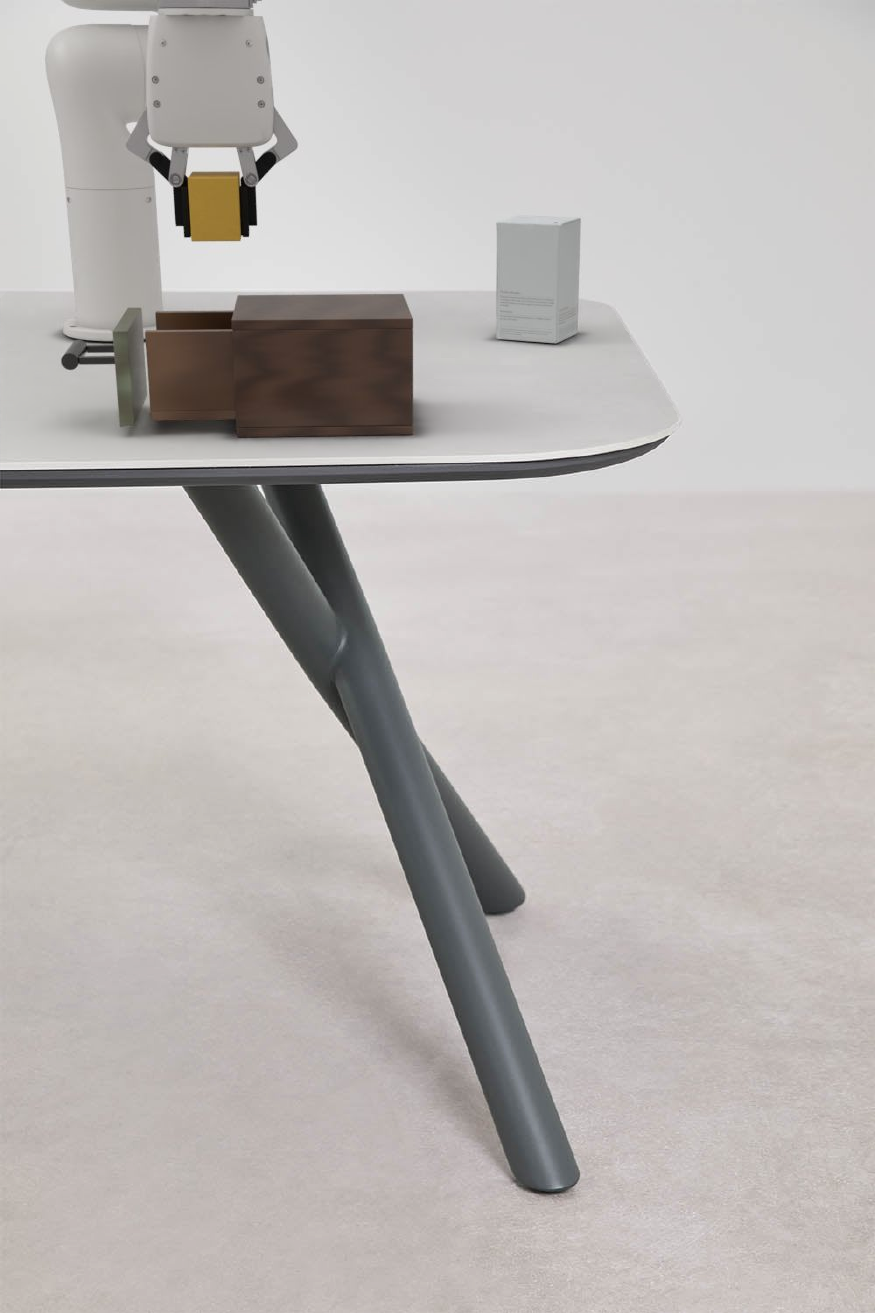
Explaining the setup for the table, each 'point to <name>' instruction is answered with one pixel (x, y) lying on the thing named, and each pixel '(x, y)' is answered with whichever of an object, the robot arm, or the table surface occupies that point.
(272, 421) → the cabinet
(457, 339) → the table surface
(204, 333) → the drawer
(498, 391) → the table surface
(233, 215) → the yellow box
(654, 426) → the table surface
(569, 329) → the white packaging box
